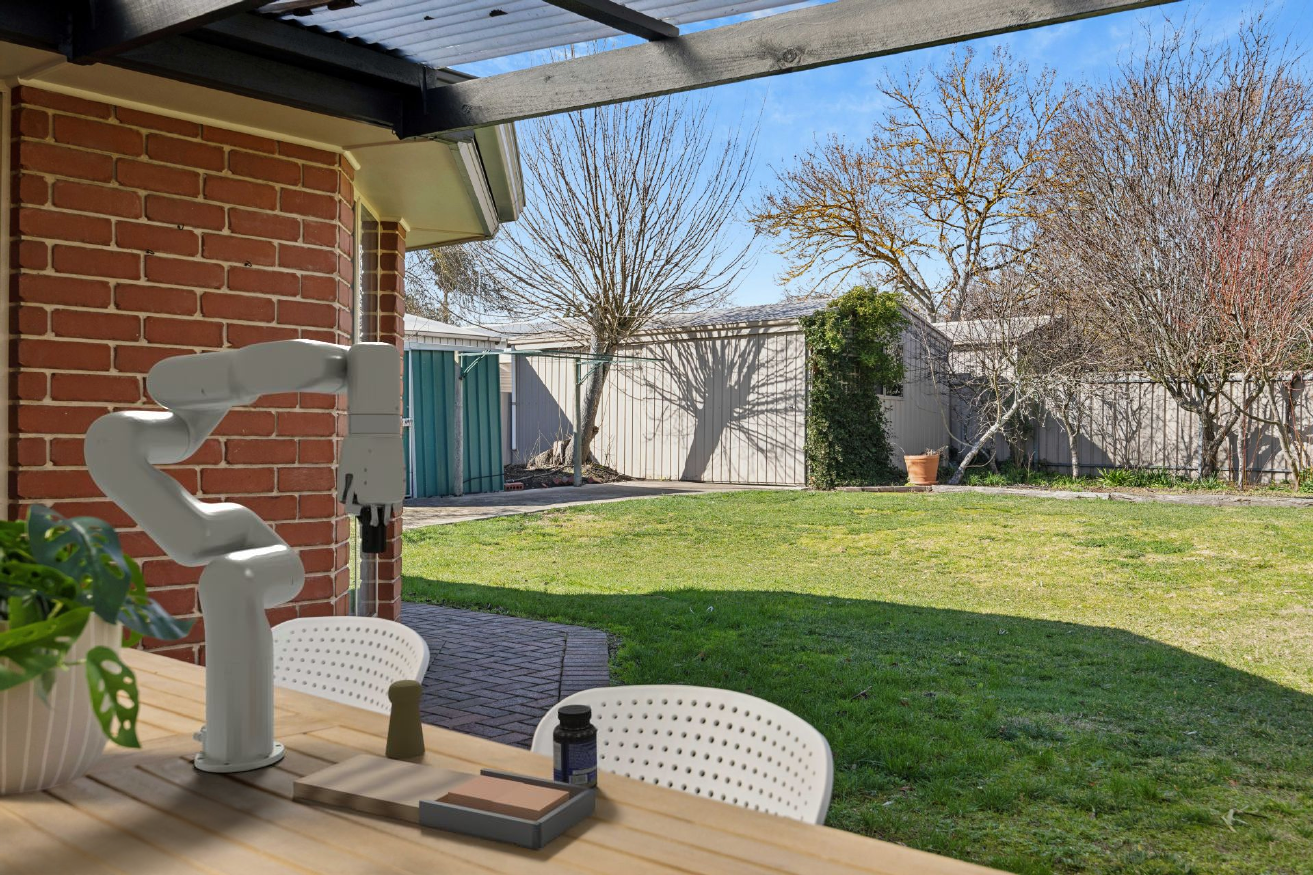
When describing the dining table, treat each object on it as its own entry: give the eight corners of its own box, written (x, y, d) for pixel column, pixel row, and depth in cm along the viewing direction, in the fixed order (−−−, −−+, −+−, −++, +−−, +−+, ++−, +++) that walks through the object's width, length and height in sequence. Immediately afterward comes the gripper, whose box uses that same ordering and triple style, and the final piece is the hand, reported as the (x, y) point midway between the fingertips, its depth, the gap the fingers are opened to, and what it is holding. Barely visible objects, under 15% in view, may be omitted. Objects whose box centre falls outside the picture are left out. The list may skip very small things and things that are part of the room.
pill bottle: (603, 782, 138) (603, 704, 138) (586, 797, 132) (586, 716, 132) (564, 778, 140) (563, 701, 140) (545, 792, 134) (545, 712, 134)
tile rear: (447, 815, 125) (447, 791, 125) (480, 797, 131) (480, 774, 131) (492, 824, 122) (492, 800, 122) (524, 805, 128) (524, 782, 128)
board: (293, 795, 133) (293, 781, 133) (361, 767, 145) (361, 753, 145) (420, 823, 123) (420, 807, 123) (482, 790, 135) (482, 775, 135)
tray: (419, 824, 123) (418, 800, 123) (483, 789, 135) (483, 767, 135) (537, 850, 115) (537, 824, 115) (595, 810, 127) (595, 787, 127)
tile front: (491, 825, 122) (491, 801, 122) (523, 806, 128) (523, 783, 128) (539, 835, 119) (539, 810, 119) (569, 815, 125) (569, 791, 125)
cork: (414, 759, 148) (414, 686, 148) (378, 756, 149) (377, 684, 149) (431, 746, 154) (431, 677, 154) (396, 744, 155) (396, 675, 155)
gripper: (389, 428, 151) (389, 546, 151) (316, 427, 138) (316, 556, 138) (427, 427, 148) (427, 548, 148) (356, 426, 135) (356, 559, 134)
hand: (374, 552), depth 143 cm, fingers closed
